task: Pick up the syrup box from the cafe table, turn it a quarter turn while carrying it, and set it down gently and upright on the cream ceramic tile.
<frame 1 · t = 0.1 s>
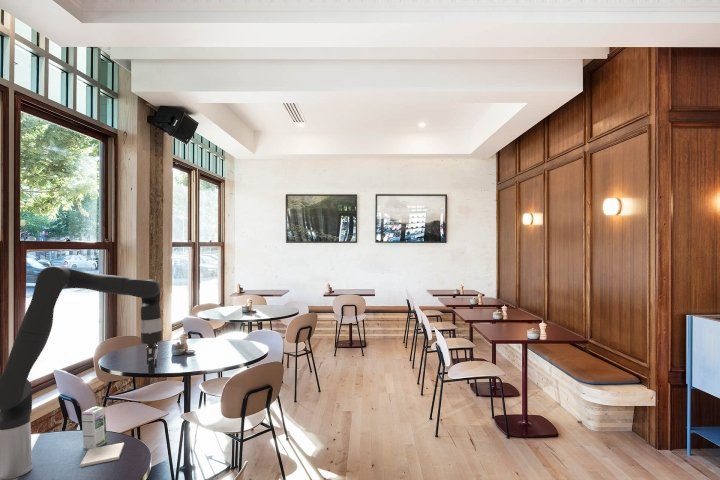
hand: (152, 371, 162), 29 cm above the table, tool pointing down, fingers open, 8 cm apart
ceramic tile: (103, 455, 155), on the table
syrup box: (95, 445, 164), on the table
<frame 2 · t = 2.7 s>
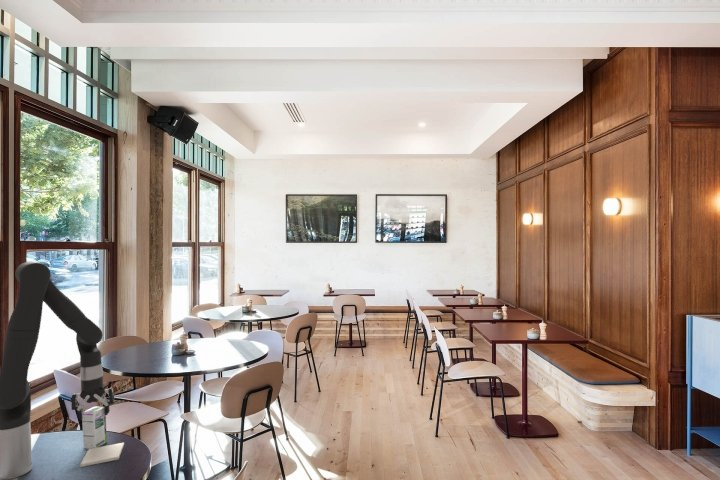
hand: (94, 416, 163), 11 cm above the table, tool pointing down, fingers open, 8 cm apart
nothing on the table moved.
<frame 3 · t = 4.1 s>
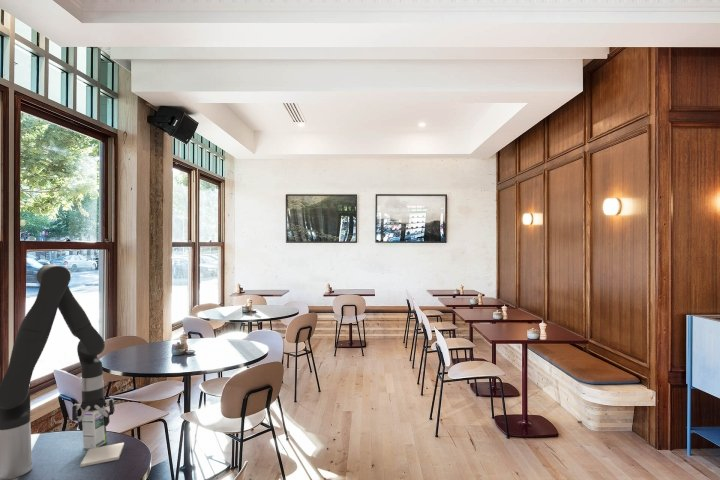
hand: (94, 427, 164), 7 cm above the table, tool pointing down, fingers closed on syrup box, 8 cm apart
syrup box: (95, 445, 164), on the table, touching gripper
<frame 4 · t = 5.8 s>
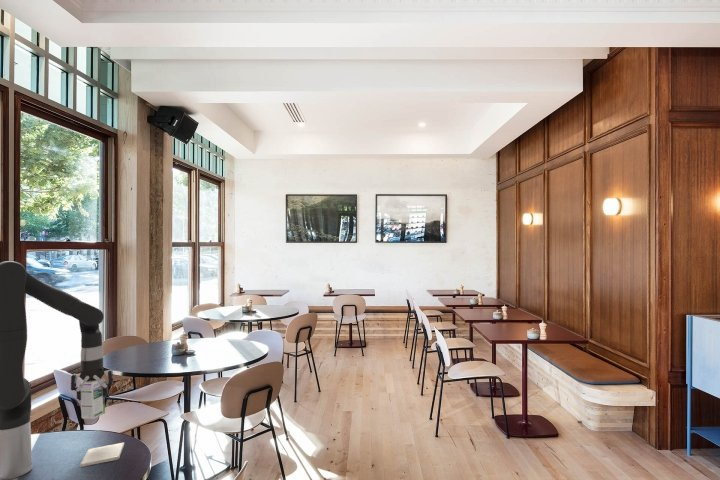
hand: (92, 398, 164), 19 cm above the table, tool pointing down, fingers closed on syrup box, 8 cm apart
syrup box: (93, 416, 164), point 12 cm above the table, touching gripper
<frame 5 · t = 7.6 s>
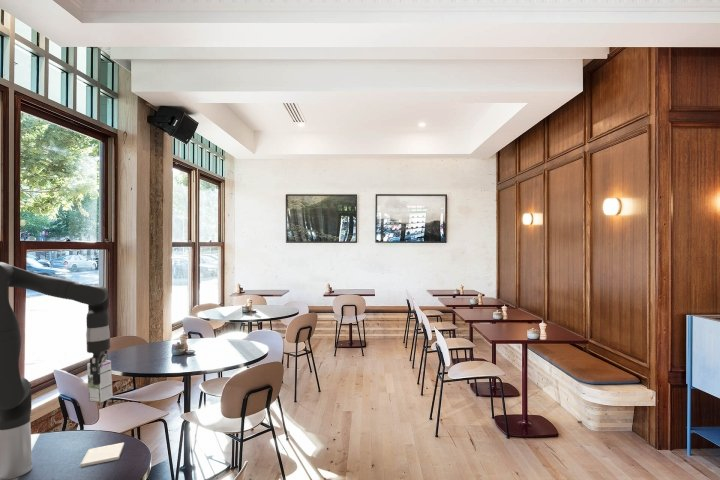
hand: (100, 381, 156), 28 cm above the table, tool pointing down, fingers closed on syrup box, 8 cm apart
syrup box: (100, 400, 156), point 21 cm above the table, touching gripper
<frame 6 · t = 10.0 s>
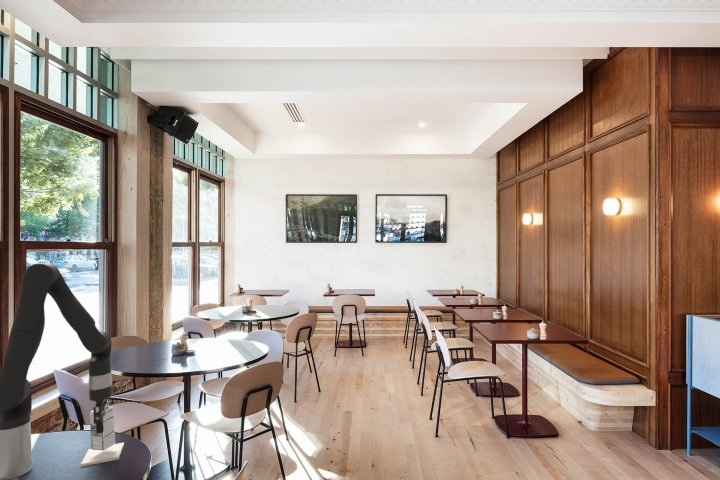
hand: (102, 428, 155), 10 cm above the table, tool pointing down, fingers closed on syrup box, 8 cm apart
syrup box: (103, 447, 155), point 3 cm above the table, touching gripper
when the fingers open (9 cm above the table, at t = 11.4 s): syrup box stays where it is, resting on ceramic tile.
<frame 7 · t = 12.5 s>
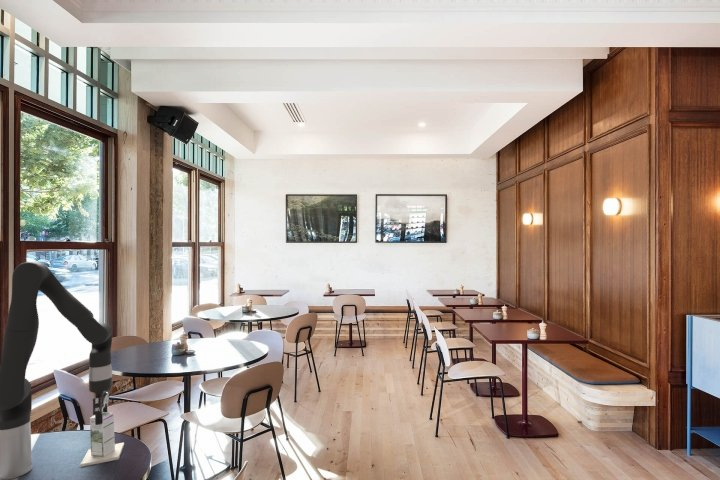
hand: (101, 419, 155), 14 cm above the table, tool pointing down, fingers open, 8 cm apart
syrup box: (103, 453, 155), point 1 cm above the table, touching ceramic tile, gripper
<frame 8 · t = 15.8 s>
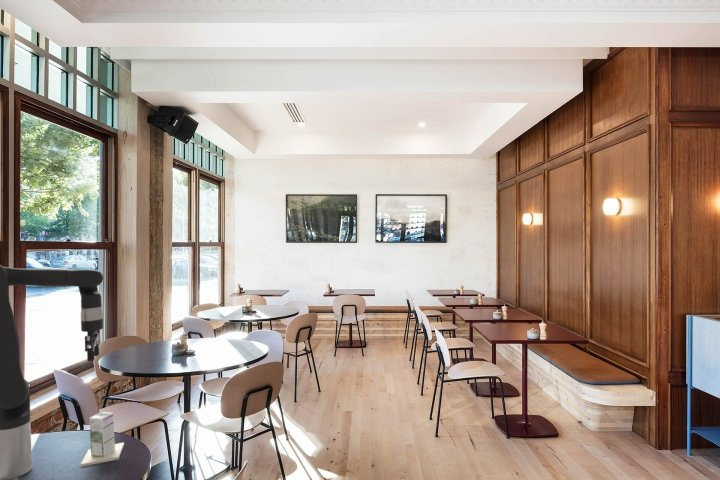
hand: (93, 358, 167), 34 cm above the table, tool pointing down, fingers open, 8 cm apart
syrup box: (103, 453, 155), point 1 cm above the table, touching ceramic tile
at the end: syrup box 0.2 cm off-centre on the ceramic tile, point 0.8 cm above the ceramic tile's base; syrup box tilted 0°; the gripper is holding nothing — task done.
